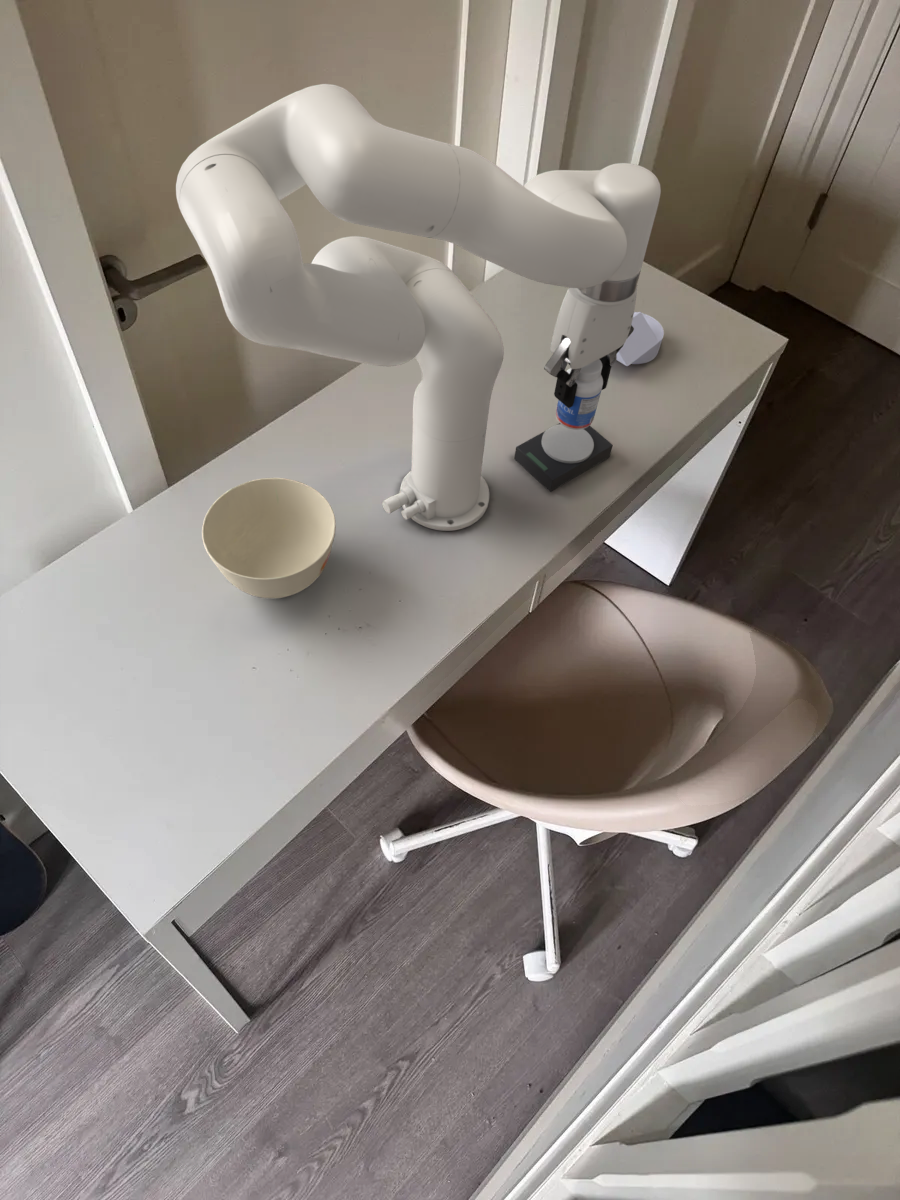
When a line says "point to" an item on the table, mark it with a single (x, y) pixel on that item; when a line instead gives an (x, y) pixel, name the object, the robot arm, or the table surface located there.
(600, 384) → the pill bottle
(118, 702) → the table surface
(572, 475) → the scale
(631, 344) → the wedge on round base
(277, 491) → the bowl
